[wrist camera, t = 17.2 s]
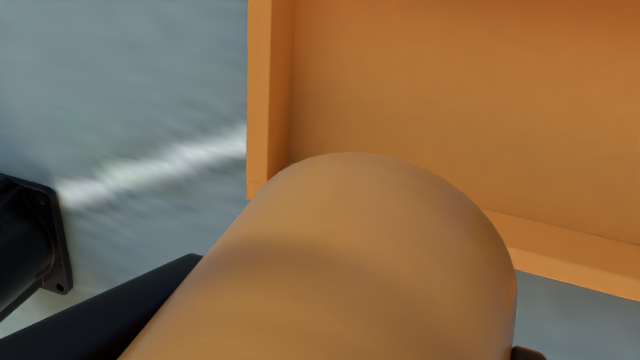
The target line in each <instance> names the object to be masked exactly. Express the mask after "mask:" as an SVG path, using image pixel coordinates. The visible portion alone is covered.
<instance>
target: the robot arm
mask: <svg viewBox="0 0 640 360" xmlns="http://www.w3.org/2000/svg"><path fill="white" fill-rule="evenodd" d="M203 257H204V256H202V255H198V254H194V253H191V254H187V255H185V256H182V257H180V258H178V259H176V260H174V261H171V262H169V263H167V264H165V265H163V266H160V267H158V268H156V269H154V270H152V271H149V272H147V273H145V274H143V275H141V276H138V277H136V278H134V279H132V280H129V281H127V282H125V283H123V284H121V285H118V286H116V287H114V288H112V289H110V290H107V291H105V292H103V293H101V294H99V295H96V296H94V297H92V298H90V299H88V300H85V301H83V302H81V303H79V304H77V305H74V306H72V307H70V308H68V309H65V310H63V311H61V312H59V313H57V314H54V315H52V316H50V317H48V318H46V319H43V320H41V321H39V322H37V323H35V324H32V325H30V326H28V327H26V328H24V329H21V330H19V331H17V332H15V333H13V334H10V335H8V336H6V337H4V338H1V339H0V360H117V359H118V358H119V357H120V355H121V354H122V353H123V352H124V351H125V349H126V348H127V347H128V346H129V345H130V344H131V342H132V341H133V340H134V339H135V338H136V336H137V335H138V334H139V333H140V332H141V330H142V329H143V328H144V327H145V326H146V324H147V323H148V322H149V321H150V320H151V319H152V317H153V316H154V315H155V314H156V313H157V311H158V310H159V309H160V308H161V307H162V305H163V304H164V303H165V302H166V301H167V299H168V298H169V297H170V296H171V295H172V294H173V292H174V291H175V290H176V289H177V288H178V286H179V285H180V284H181V283H182V282H183V280H184V279H185V278H186V277H187V276H188V274H189V273H190V272H191V271H192V270H193V269H194V267H195V266H196V265H197V264H198V263H199V261H200V260H201V259H202V258H203ZM39 288H43V289H46V290H49V291H52V292H55V293H58V294H61V295H66V294H68V293H69V292H70V291H71V290H72V289H73V282H72V276H71V271H70V266H69V260H68V255H67V250H66V244H65V239H64V233H63V228H62V223H61V217H60V212H59V206H58V201H57V197H56V194H55V192H54V191H53V190H52V189H51V188H49V187H47V186H44V185H40V184H37V183H33V182H30V181H26V180H23V179H19V178H15V177H12V176H8V175H5V174H1V173H0V322H2V321H3V320H4V319H5V318H6V317H7V316H8V315H10V314H11V313H12V312H13V311H14V310H15V309H16V308H18V307H19V306H20V305H21V304H22V303H23V302H24V301H25V300H27V299H28V298H29V297H30V296H31V295H32V294H33V293H35V292H36V291H37V290H38V289H39ZM511 360H546V358H545V356H544V355H543V354H542V353H540V352H537V351H533V350H530V349H526V348H523V347H519V346H515V347H513V348H512V351H511Z"/></svg>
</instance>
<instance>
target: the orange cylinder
mask: <svg viewBox="0 0 640 360" xmlns="http://www.w3.org/2000/svg"><path fill="white" fill-rule="evenodd" d="M516 306H517V283H516V275H515V270H514V267H513V263H512V260H511V257H510V254H509V252H508V250H507V248H506V246H505V243H504V241H503V239H502V237H501V236H500V234H499V233H498V231H497V230H496V228H495V227H494V225H493V224H492V222H491V221H490V220H489V218H488V217H487V216H486V215H485V214H484V213H483V212H482V210H481V209H480V208H479V207H478V206H477V205H476V204H475V203H474V202H473V201H472V200H471V199H470V198H468V197H467V196H466V195H465V194H464V193H463V192H462V191H460V190H459V189H458V188H456V187H455V186H453V185H452V184H450V183H449V182H448V181H446V180H445V179H443V178H441V177H439V176H437V175H436V174H434V173H432V172H430V171H428V170H427V169H424V168H422V167H419V166H417V165H414V164H412V163H409V162H407V161H403V160H400V159H396V158H393V157H389V156H385V155H379V154H372V153H362V152H341V153H329V154H324V155H320V156H315V157H311V158H308V159H305V160H302V161H300V162H297V163H294V164H292V165H291V166H289V167H287V168H285V169H283V170H282V171H280V172H279V173H277V174H276V175H275V176H273V177H272V178H271V179H270V180H268V181H267V182H266V184H265V185H264V186H263V187H262V188H261V189H260V190H259V191H258V192H257V194H256V195H255V196H254V197H253V198H252V199H251V201H250V202H249V203H248V204H247V205H246V207H245V208H244V209H243V210H242V211H241V213H240V214H239V215H238V216H237V217H236V219H235V220H234V221H233V222H232V223H231V224H230V226H229V227H228V228H227V229H226V230H225V232H224V233H223V234H222V235H221V236H220V238H219V239H218V240H217V241H216V242H215V244H214V245H213V246H212V247H211V248H210V249H209V251H208V252H207V253H206V254H205V255H204V257H203V258H202V259H201V260H200V261H199V263H198V264H197V265H196V266H195V267H194V269H193V270H192V271H191V272H190V273H189V274H188V276H187V277H186V278H185V279H184V280H183V282H182V283H181V284H180V285H179V286H178V288H177V289H176V290H175V291H174V292H173V294H172V295H171V296H170V297H169V298H168V299H167V301H166V302H165V303H164V304H163V305H162V307H161V308H160V309H159V310H158V311H157V313H156V314H155V315H154V316H153V317H152V319H151V320H150V321H149V322H148V323H147V324H146V326H145V327H144V328H143V329H142V330H141V332H140V333H139V334H138V335H137V336H136V338H135V339H134V340H133V341H132V342H131V344H130V345H129V346H128V347H127V348H126V349H125V351H124V352H123V353H122V354H121V355H120V357H119V358H118V359H117V360H511V351H512V344H513V335H514V325H515V315H516Z"/></svg>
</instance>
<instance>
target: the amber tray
mask: <svg viewBox="0 0 640 360" xmlns="http://www.w3.org/2000/svg"><path fill="white" fill-rule="evenodd" d="M341 152H362V153H372V154H379V155H385V156H389V157H393V158H396V159H400V160H403V161H407V162H409V163H412V164H414V165H417V166H419V167H422V168H424V169H427V170H428V171H430V172H432V173H434V174H436V175H437V176H439V177H441V178H443V179H445V180H446V181H448V182H449V183H450V184H452V185H453V186H455V187H456V188H458V189H459V190H460V191H462V192H463V193H464V194H465V195H466V196H467V197H468V198H470V199H471V200H472V201H473V202H474V203H475V204H476V205H477V206H478V207H479V208H480V209H481V210H482V212H483V213H484V214H485V215H486V216H487V217H488V218H489V220H490V221H491V222H492V224H493V225H494V227H495V228H496V230H497V231H498V233H499V234H500V236H501V237H502V239H503V241H504V243H505V246H506V248H507V250H508V252H509V254H510V257H511V260H512V263H513V267H514V269H516V270H520V271H524V272H528V273H532V274H535V275H539V276H543V277H547V278H551V279H555V280H558V281H562V282H566V283H570V284H574V285H578V286H581V287H585V288H589V289H593V290H597V291H600V292H604V293H608V294H612V295H616V296H620V297H623V298H627V299H631V300H635V301H639V302H640V0H248V47H247V159H246V180H247V195H246V198H247V199H248V200H251V199H252V198H253V197H254V196H255V195H256V194H257V192H258V191H259V190H260V189H261V188H262V187H263V186H264V185H265V184H266V182H267V181H268V180H270V179H271V178H272V177H273V176H275V175H276V174H277V173H279V172H280V171H282V170H283V169H285V168H287V167H289V166H291V165H292V164H294V163H297V162H300V161H302V160H305V159H308V158H311V157H315V156H320V155H324V154H329V153H341Z"/></svg>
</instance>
